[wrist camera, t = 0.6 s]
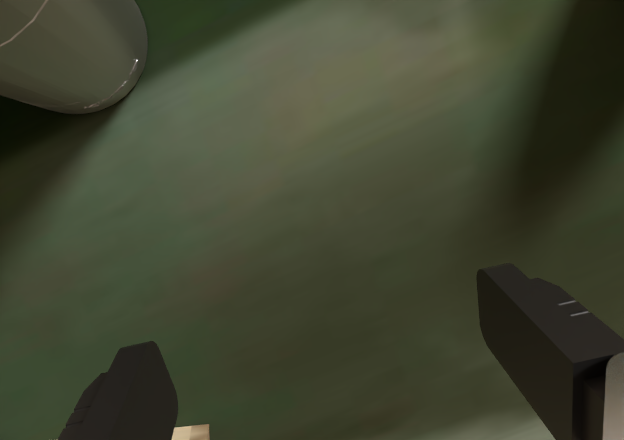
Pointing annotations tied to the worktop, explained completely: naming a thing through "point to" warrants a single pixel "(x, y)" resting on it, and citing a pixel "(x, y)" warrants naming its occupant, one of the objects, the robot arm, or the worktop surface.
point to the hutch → (191, 433)
